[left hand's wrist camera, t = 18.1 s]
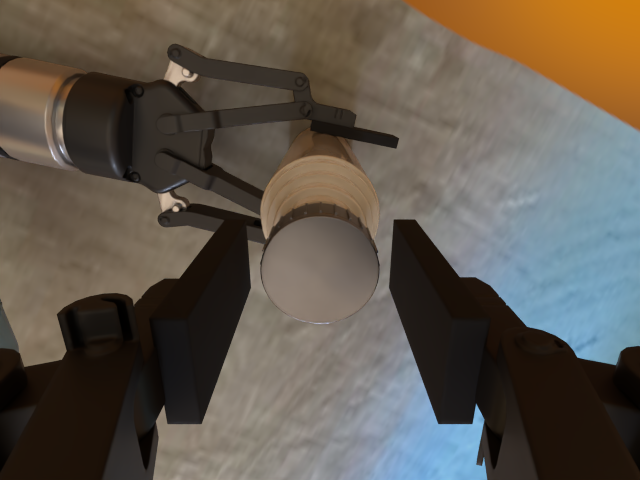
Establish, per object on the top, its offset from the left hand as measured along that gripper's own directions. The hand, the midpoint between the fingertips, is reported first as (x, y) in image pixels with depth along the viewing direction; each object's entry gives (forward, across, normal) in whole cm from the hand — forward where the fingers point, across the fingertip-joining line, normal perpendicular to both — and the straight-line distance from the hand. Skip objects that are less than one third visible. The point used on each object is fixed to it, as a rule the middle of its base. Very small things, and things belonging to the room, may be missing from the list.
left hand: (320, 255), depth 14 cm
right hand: (+17, -5, +1) cm, 18 cm away
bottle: (+24, 0, 0) cm, 24 cm away
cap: (-1, 0, 0) cm, 1 cm away
